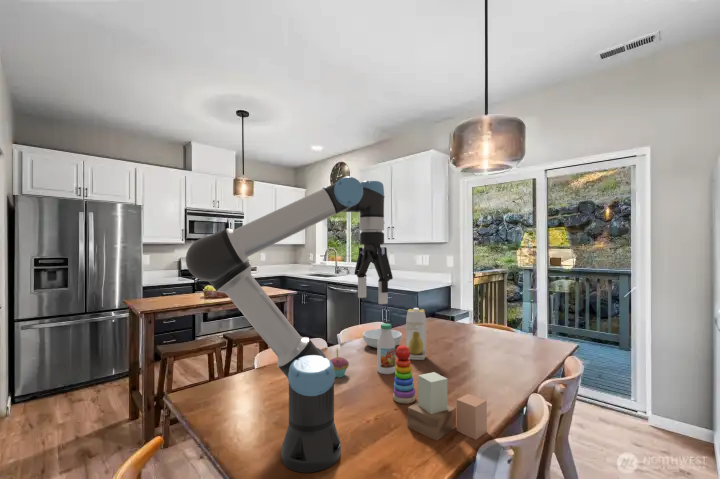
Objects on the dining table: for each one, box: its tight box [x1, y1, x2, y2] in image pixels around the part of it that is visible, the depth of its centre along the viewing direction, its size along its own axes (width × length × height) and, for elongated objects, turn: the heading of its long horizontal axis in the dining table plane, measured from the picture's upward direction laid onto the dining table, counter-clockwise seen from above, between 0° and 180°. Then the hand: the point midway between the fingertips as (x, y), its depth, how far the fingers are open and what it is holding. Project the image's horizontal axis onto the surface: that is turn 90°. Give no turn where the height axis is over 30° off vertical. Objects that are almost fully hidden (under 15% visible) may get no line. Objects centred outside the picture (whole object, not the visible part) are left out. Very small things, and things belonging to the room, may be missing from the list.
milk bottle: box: [376, 323, 396, 375], centre depth 147 cm, size 8×8×20 cm
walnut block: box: [407, 402, 457, 441], centre depth 102 cm, size 10×10×6 cm
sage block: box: [417, 371, 448, 414], centre depth 102 cm, size 6×6×9 cm
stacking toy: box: [392, 344, 417, 404], centre depth 120 cm, size 8×8×19 cm
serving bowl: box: [362, 328, 403, 349], centre depth 184 cm, size 21×21×7 cm
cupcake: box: [329, 348, 350, 378], centre depth 143 cm, size 9×8×12 cm
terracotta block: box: [456, 393, 488, 440], centre depth 99 cm, size 6×6×9 cm
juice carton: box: [405, 307, 427, 361], centre depth 165 cm, size 9×8×24 cm
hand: (372, 300), depth 106 cm, fingers open, 13 cm apart
